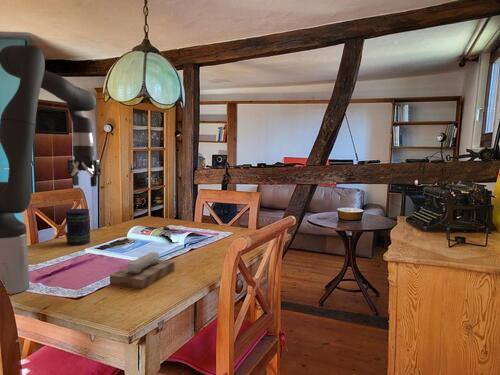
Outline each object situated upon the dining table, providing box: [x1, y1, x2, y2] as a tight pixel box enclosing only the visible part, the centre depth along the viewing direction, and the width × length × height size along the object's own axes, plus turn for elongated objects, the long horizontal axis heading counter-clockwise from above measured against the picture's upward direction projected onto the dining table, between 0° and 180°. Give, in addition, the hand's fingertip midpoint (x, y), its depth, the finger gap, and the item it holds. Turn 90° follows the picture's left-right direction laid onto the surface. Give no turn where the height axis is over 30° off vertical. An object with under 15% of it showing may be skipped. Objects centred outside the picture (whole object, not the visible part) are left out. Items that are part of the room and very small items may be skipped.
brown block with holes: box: [109, 259, 175, 290], centre depth 133 cm, size 20×12×3 cm, turn 161°
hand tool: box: [162, 225, 173, 232], centre depth 186 cm, size 19×4×5 cm, turn 25°
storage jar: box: [65, 208, 91, 247], centre depth 175 cm, size 10×10×15 cm
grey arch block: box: [126, 252, 160, 275], centre depth 132 cm, size 14×3×6 cm, turn 161°
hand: (84, 185), depth 154 cm, fingers open, 8 cm apart
